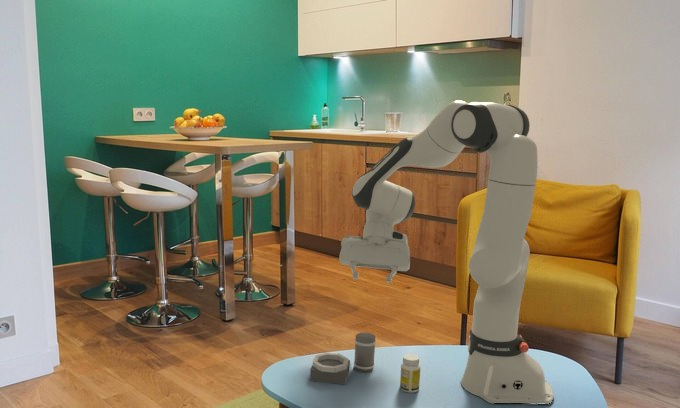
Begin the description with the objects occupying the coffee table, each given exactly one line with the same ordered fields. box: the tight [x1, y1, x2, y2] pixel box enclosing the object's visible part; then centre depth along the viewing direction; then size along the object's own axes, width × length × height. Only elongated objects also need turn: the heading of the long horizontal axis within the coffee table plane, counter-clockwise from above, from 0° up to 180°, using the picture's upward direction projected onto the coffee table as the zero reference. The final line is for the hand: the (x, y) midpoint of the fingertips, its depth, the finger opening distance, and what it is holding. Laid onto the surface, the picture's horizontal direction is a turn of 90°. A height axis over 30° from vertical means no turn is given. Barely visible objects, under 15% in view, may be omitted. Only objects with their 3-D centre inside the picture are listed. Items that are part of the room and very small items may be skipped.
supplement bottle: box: [399, 353, 421, 394], centre depth 156 cm, size 5×5×8 cm
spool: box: [353, 332, 376, 374], centre depth 167 cm, size 5×5×9 cm
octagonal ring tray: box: [309, 352, 351, 385], centre depth 162 cm, size 9×9×4 cm
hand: (371, 280), depth 176 cm, fingers open, 8 cm apart
